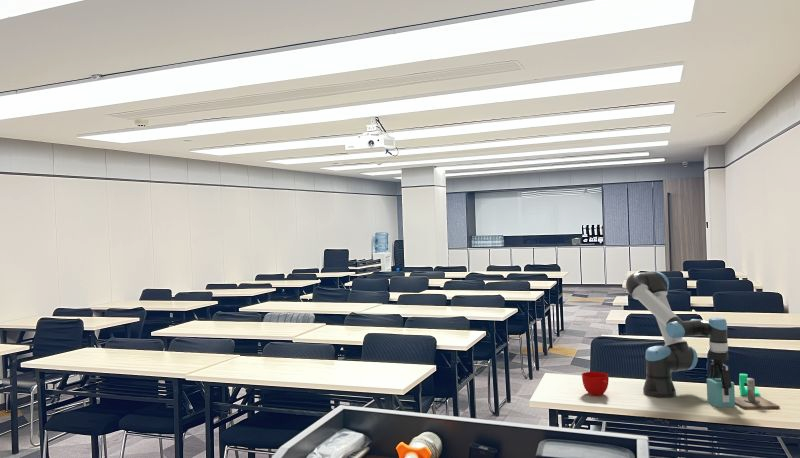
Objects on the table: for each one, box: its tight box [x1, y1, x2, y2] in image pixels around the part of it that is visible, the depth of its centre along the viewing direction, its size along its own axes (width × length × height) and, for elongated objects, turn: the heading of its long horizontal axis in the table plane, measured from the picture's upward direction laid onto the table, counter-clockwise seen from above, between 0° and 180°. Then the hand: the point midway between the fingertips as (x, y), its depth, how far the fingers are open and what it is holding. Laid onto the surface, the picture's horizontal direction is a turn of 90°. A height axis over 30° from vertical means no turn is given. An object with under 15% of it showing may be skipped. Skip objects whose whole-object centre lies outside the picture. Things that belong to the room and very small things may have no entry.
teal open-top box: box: [706, 377, 736, 408], centre depth 267 cm, size 8×8×11 cm
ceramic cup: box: [581, 371, 609, 397], centre depth 288 cm, size 13×17×10 cm
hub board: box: [735, 377, 781, 410], centre depth 266 cm, size 16×16×12 cm
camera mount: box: [738, 373, 761, 397], centre depth 281 cm, size 12×8×10 cm, turn 153°
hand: (720, 399), depth 267 cm, fingers closed on teal open-top box, 8 cm apart
